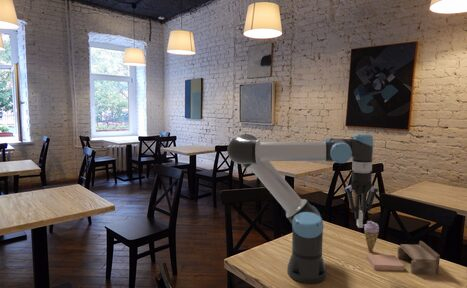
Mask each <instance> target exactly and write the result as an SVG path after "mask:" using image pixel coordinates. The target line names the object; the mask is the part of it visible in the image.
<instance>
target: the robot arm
mask: <svg viewBox="0 0 467 288" xmlns="http://www.w3.org/2000/svg"><path fill="white" fill-rule="evenodd" d="M373 151H374V137H373V135H372V134H368V133H355V134H353V137H352V138H333V137H330V138H324V139H323V141H260V140H259V139H258V138H257V137H256V136H254V135H252V134H249V133H243V134H241V135H238V136H236V137H234V138H233V139H231V140H230V141H229V143H228V145H227V155H228V158H230V160H231V161H232V162H234V163H236V164H238V165H239V164H240V165H242V166H243V167H244V168H245V169H246V170H250V171H252V172H253V174H254V175H255V176H256V178H257V179H259V181H260V182H261V183H262V184H263V185H264V187H265V188H266V189H267V191H269V193H270V194H271V196H273V197H274V198H275V200H276V201H277V202H278V203H279V204H280V205H281V207H282V208H283V210H284V211H285V216H286V218H287V219H288V220H289V222H290V224H291V228H292V234H291V235H292V241H291V242H292V243H291V245H292V246H291V249H292V250H291V251H292V252H291V255H290V258H289V261H288V262H287V263H288V264H287V266H286V267H287V268H286V269H287V274H289V275H288V277H290V278H291V277H292V278H291V279H292V280H294V279H295V281H296V280H297V282H299V281H300V282H299V283H302V282H304V284H318V283H321V282H323V281H325V280H326V278H327V268H326V265H325V262H324V258H323V236H324V235H323V234H324V233H323V232H324V221H323V218H322V215H321V213H320V211H319V210H318V208H316V207H315V206H314V205H312V204H310V202H309V201H308V199H305V198H301V197H300V195H298V194H297V192H296V191H295V190H294V189H293V188H292V186H291V185H290V184H289V183H288V182H287V180H285V179H286V178H284V177H283V176H282V174H281V173H280V172H279V171H278V169H276V167H275V166H274V165H273V164H272V163H271V162H335V163H338V164H345V163H347V162H349V161H350V160H351V158H352V165H351V168H352V171H351V182H350V184H349V185H348V186H345V187H344V190H345V191H346V193H347V194H346V195H347V198H348V199H347V200H348V205H349V208H350V210H351V211H354V219H355V220H356V226H357V228H359V229H361V228H362V229H363V228H364V226H363V225H364V224H363V223H364V222H363V221H364V220H366V213H367V212H371V209H372V206H373V203H374V199H375V196H376V195H377V193H378V192H379V189H378V188H376V187H374V186H373V184H372V176H373V175H372V171H373V153H374V152H373ZM352 190H353V192H354V195H355V197H354V198H353V194H352ZM368 192H369V194H368ZM367 197H368V199H367Z"/></svg>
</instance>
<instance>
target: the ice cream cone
mask: <svg viewBox="0 0 467 288" xmlns="http://www.w3.org/2000/svg"><path fill="white" fill-rule="evenodd" d="M363 228H364V236H365V241H366V246H367V249H368V252H369V253H372V252H373V251H374V247H375V245H376V242H377V240H378V236H379V231H380V227H379V224H378V223H377V222H374V221H372V220H367V221H366V223H365V224H363Z"/></svg>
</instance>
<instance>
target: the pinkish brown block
mask: <svg viewBox="0 0 467 288" xmlns="http://www.w3.org/2000/svg"><path fill="white" fill-rule="evenodd" d="M365 259H366V260H367V262H368V263H369V264H370V266H371V267H372V269H373V270H378V271H379V270H383V271H405V268H406V267H405V264H403V262H402V261H401V259H398V258H397V256H396V255H392V254H387V255H386V254H366V258H365Z"/></svg>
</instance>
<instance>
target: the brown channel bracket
mask: <svg viewBox="0 0 467 288" xmlns="http://www.w3.org/2000/svg"><path fill="white" fill-rule="evenodd" d="M396 257H397V258H398V259H399V260H411V262H410V263H411V264H410V273H411V274H413V275H414V274H415V275H435V276H437V275H438V276H439V274H440V273H439V272H440V261H441V260H440V258H441V255H440V254H439V253H438V252H436V251H435V250H434V249H433V248H431V247H430V246H429V245H428V244H427V243H425V242H424V241H423V240H419V241H418V244H405V243H404V244H403V243H402V244H401V243H400V245H399V246H397V256H396Z"/></svg>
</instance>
